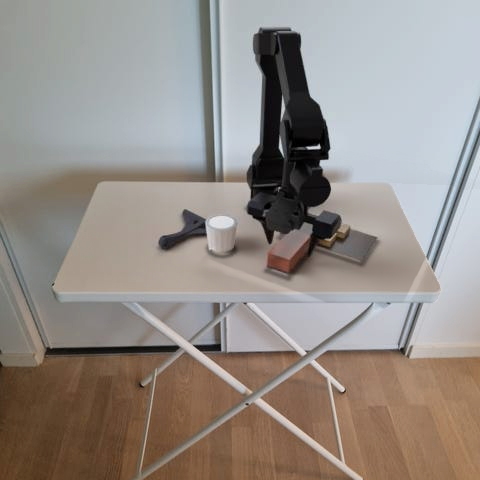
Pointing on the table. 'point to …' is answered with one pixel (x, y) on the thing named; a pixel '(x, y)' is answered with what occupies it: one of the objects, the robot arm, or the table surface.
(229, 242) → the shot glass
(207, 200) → the table surface
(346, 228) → the cork bit
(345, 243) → the board
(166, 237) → the bracket
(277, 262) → the reddish orange block
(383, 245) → the table surface
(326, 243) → the cork bit
